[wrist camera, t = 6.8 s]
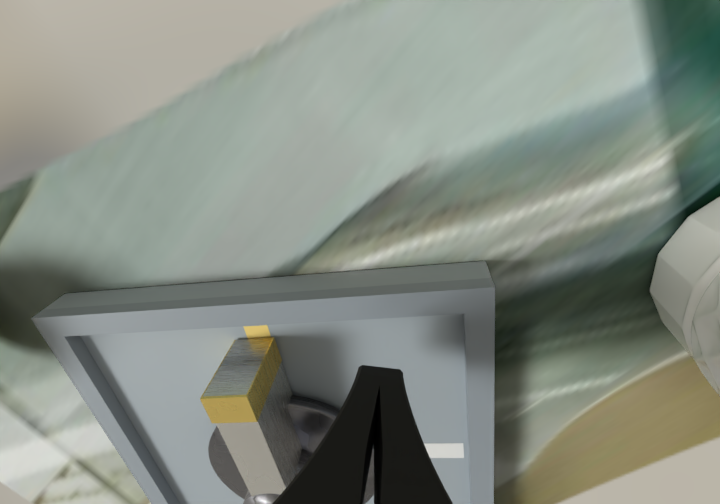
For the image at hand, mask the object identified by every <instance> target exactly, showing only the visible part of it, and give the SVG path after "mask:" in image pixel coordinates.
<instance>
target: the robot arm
mask: <svg viewBox="0 0 720 504" xmlns="http://www.w3.org/2000/svg"><path fill="white" fill-rule="evenodd" d="M373 445H374V504H453V503H452V501H451V499H450V497H449V495H448V493H447V492H446V490H445V488H444V486H443V484H442V482H441V480H440V478H439V476H438V474H437V472H436V470H435V468H434V466H433V463H432V461H431V459H430V457H429V455H428V452H427V450H426V447H425V445H424V443H423V440H422V438H421V435H420V433H419V430H418V427H417V424H416V422H415V419H414V416H413V413H412V410H411V407H410V403H409V400H408V396H407V393H406V388H405V384H404V378H403V372H402V371H401V370H400V369H393V368H384V367H376V366H367V365H361V366H360V367H358V371H357V374H356V377H355V380H354V383H353V385H352V387H351V389H350V392H349V394H348V396H347V398H346V400H345V402H344V404H343V406H342V407H341V409H340V411H339V413H338V415H337V417H336V418H335V420H334V422H333V423H332V425H331V427H330V428H329V430H328V431H327V433H326V435H325V436H324V438H323V439H322V441H321V442H320V444H319V445H318V447H317V448H316V450H315V451H314V453H313V454H312V455H311V457H310V458H309V460H308V461H307V462H306V464H305V465H304V466H303V468H302V469H301V470H300V471H299V473H298V474H297V475H296V476H295V478H294V479H293V480H292V481H291V483H290V484H289V485H288V486H287V488H286V489H285V490H284V491H283V492H282V493H281V495H280V496H279V497H278V498H277V499H276V500H275V501H274V502H273V503H272V504H363V501H364V496H365V490H366V484H367V479H368V473H369V468H370V462H371V456H372V450H373Z"/></svg>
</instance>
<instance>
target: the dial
mask: <svg viewBox="0 0 720 504" xmlns="http://www.w3.org/2000/svg"><path fill="white" fill-rule="evenodd" d="M281 361H282V358H281V356H280V353H279V350H278V347H277V344H276V341H275V338H274V337H269V338H255V339H241V340H234V342H233V343H232V345H231V347H230V349H229V350H228V352H227V354H226V355H225V357H224V359H223V360H222V362H221V364H220V366H219V367H218V369H217V371H216V372H215V374H214V376H213V377H212V379H211V381H210V383H209V384H208V386H207V388H206V389H205V391H204V393H203V394H202V396H201V398H200V400H201V402H202V404H203V406H204V408H205V410H206V412H207V414H208V416H209V418H210V420H211V423H216V425H217V426H216V428H215V430H214V432H213V434H212V436H211V438H210V441H209V447H208V453H209V459H210V463H211V465H212V467H213V469H214V471H215V473H216V474H217V476H218V477H219V478H220V480H221V481H222V482H223V483H224V484H225V485H226V486H227V487H228V488H229V489H230V490H232V491H233V492H234V493H235V494H237V495H238V496H240V497H241V498H243V499H244V503H243V504H272V503H273V502H274V501H275V500H276V499H277V498H278V497H279V496H280V495H281V493H282V492H283V491H284V490H285V489H286V488H287V486H288V485H289V484H290V483H291V481H292V480H293V479H294V478H295V476H296V475H297V474H298V473H299V471H300V470H301V469H302V468H303V466H304V465H305V464H306V462H307V461H308V460H309V458H310V457H311V455H312V454H313V453H314V451H315V450H316V448H317V447H318V445H319V444H320V442H321V441H322V439H323V438H324V436H325V435H326V433H327V431H328V430H329V428H330V427H331V425H332V423H333V422H334V420H335V418H336V417H337V415H338V413H339V411H340V410H339V409H337V408H335V407H333V406H331V405H329V404H326V403H324V402H321V401H318V400H314V399H311V398H307V397H301V396H296V395H293V394H292V391H291V388H290V385H289V382H288V379H287V376H286V373H285V371H284V368H283V365H282V362H281ZM373 495H374V445H373V450H372V456H371V462H370V468H369V473H368V479H367V484H366V490H365V496H364V501H363V504H365V503H367V502H368V501H369V500H370V499H371V497H372V496H373Z"/></svg>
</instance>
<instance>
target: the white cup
mask: <svg viewBox="0 0 720 504" xmlns="http://www.w3.org/2000/svg"><path fill="white" fill-rule="evenodd" d="M650 293H651V296H652V298H653V301H654V303H655V306H656V308H657V310H658V313H659V315H660V318H661V320H662V322H663V323H664V325H665V326H666V327H667V328H668V329H669V331H670V332H671V333H672V334H673V335H674V336H675V338H676V339H677V340H678V341H679V342H680V344H681V345H682V346H683V347H684V348H685V349H686V351H687V352H688V353H689V354H690V355H691V356H692V358H693V359H694V360H695V362H696V364H697V366H698V367H699V369H700V370H701V372H702V373H703V375H704V376H705V378H706V379H707V381H708V382H709V383H710V385H711V386H712V387H713V389H714V390H715V391H716V393H717V394H718V395H719V396H720V197H718V198H716V199H715V200H713V201H712V202H710V203H708V204H707V205H705V206H704V207H702V208H700V209H699V210H697V211H696V212H694V213H693V214H691V215H690V216H688V217H687V218H686V220H685V221H684V222H683V223H682V225H681V226H680V227H679V228H678V230H677V231H676V232H675V233H674V235H673V236H672V237H671V238H670V239H669V241H668V242H667V243H666V244H665V246H664V247H663V248H662V249H661V251H660V252H659V253H658V256H657V260H656V265H655V269H654V273H653V277H652V282H651V286H650Z"/></svg>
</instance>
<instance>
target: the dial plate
mask: <svg viewBox="0 0 720 504" xmlns="http://www.w3.org/2000/svg"><path fill="white" fill-rule="evenodd" d="M31 320H32V321H33V323H34V324H35V326H36V327H37V329H38V330H39V332H40V333H41V335H42V336H43V338H44V340H45V341H46V343H47V344H48V346H49V347H50V349H51V350H52V352H53V353H54V355H55V356H56V358H57V359H58V361H59V363H60V364H61V366H62V367H63V369H64V370H65V372H66V373H67V375H68V376H69V378H70V379H71V381H72V382H73V384H74V386H75V387H76V389H77V390H78V392H79V393H80V395H81V396H82V398H83V399H84V401H85V402H86V404H87V405H88V407H89V409H90V410H91V412H92V413H93V415H94V416H95V418H96V419H97V421H98V422H99V424H100V425H101V427H102V428H103V430H104V432H105V433H106V435H107V436H108V438H109V439H110V441H111V442H112V444H113V445H114V447H115V448H116V450H117V451H118V453H119V455H120V456H121V458H122V459H123V461H124V462H125V464H126V465H127V467H128V468H129V470H130V471H131V473H132V474H133V476H134V478H135V479H136V481H137V482H138V484H139V485H140V487H141V488H142V490H143V491H144V493H145V494H146V496H147V497H148V499H149V501H150V502H151V504H243V503H244V499H243V498H241V497H240V496H238V495H237V494H235V493H234V492H233V491H232V490H230V489H229V488H228V487H227V486H226V485H225V484H224V483H223V482H222V481H221V480H220V478H219V477H218V476H217V474H216V473H215V471H214V469H213V467H212V465H211V463H210V459H209V453H208V447H209V441H210V438H211V436H212V434H213V432H214V430H215V428H216V426H217V425H216V423H211V420H210V418H209V416H208V414H207V412H206V410H205V408H204V406H203V404H202V402H201V400H200V398H201V396H202V394H203V393H204V391H205V389H206V388H207V386H208V384H209V383H210V381H211V379H212V377H213V376H214V374H215V372H216V371H217V369H218V367H219V366H220V364H221V362H222V360H223V359H224V357H225V355H226V354H227V352H228V350H229V349H230V347H231V345H232V343H233V342H234V340H241V339H255V338H269V337H274V338H275V341H276V344H277V347H278V350H279V353H280V356H281V358H282V361H281V362H282V365H283V368H284V371H285V373H286V376H287V379H288V382H289V385H290V388H291V391H292V394H293V395H296V396H301V397H307V398H311V399H314V400H318V401H321V402H324V403H326V404H329V405H331V406H333V407H335V408H337V409H339V410H340V409H341V407H342V406H343V404H344V402H345V400H346V398H347V396H348V394H349V392H350V389H351V387H352V385H353V383H354V380H355V377H356V374H357V371H358V367H360V366H361V365H367V366H376V367H384V368H393V369H400V370H401V371H402V372H403V378H404V384H405V388H406V393H407V396H408V400H409V403H410V407H411V410H412V413H413V416H414V419H415V422H416V424H417V427H418V430H419V433H420V435H421V438H422V440H423V443H424V445H425V447H426V450H427V452H428V455H429V457H430V459H431V461H432V463H433V466H434V468H435V470H436V472H437V474H438V476H439V478H440V480H441V482H442V484H443V486H444V488H445V490H446V492H447V493H448V495H449V497H450V499H451V501H452V503H453V504H494V383H495V286H494V283H493V280H492V278H491V275H490V272H489V269H488V267H487V264H486V261H477V262H464V263H451V264H438V265H425V266H412V267H399V268H387V269H374V270H361V271H348V272H335V273H322V274H309V275H297V276H284V277H271V278H258V279H245V280H232V281H219V282H207V283H194V284H181V285H168V286H155V287H142V288H130V289H117V290H104V291H91V292H78V293H65V294H64V295H62V296H61V297H60V298H58V299H57V300H55V301H54V302H53V303H51V304H50V305H49V306H47V307H46V308H44V309H43V310H42V311H40V312H39V313H37V314H36V315H35V316H33V317H32V318H31ZM365 504H374V495H373V496H372V497H371V499H370V500H369V501H368V502H367V503H365Z"/></svg>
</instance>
